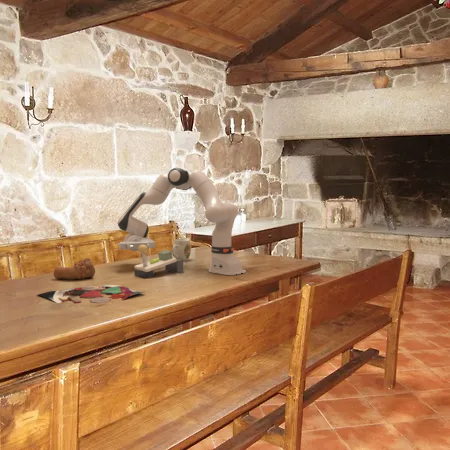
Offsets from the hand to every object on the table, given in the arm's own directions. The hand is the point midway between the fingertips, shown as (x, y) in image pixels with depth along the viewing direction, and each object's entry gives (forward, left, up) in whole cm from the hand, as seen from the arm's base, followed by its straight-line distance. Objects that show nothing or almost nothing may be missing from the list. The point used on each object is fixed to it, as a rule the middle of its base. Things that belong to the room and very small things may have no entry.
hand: (139, 246), depth 260 cm
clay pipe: (+10, +33, -15) cm, 37 cm away
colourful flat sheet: (-27, +42, -16) cm, 53 cm away
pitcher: (+16, -41, -15) cm, 46 cm away
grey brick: (-8, -7, -15) cm, 18 cm away
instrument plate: (-8, -5, -10) cm, 14 cm away
